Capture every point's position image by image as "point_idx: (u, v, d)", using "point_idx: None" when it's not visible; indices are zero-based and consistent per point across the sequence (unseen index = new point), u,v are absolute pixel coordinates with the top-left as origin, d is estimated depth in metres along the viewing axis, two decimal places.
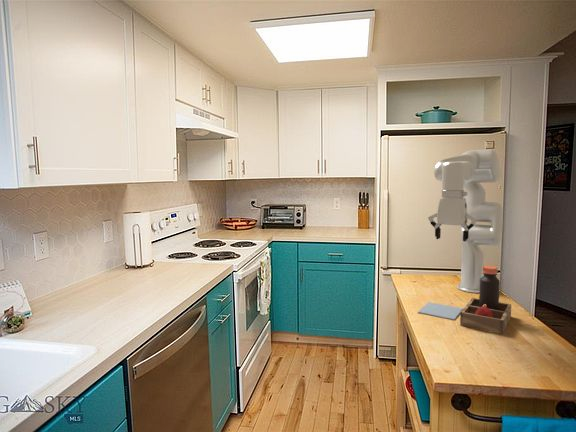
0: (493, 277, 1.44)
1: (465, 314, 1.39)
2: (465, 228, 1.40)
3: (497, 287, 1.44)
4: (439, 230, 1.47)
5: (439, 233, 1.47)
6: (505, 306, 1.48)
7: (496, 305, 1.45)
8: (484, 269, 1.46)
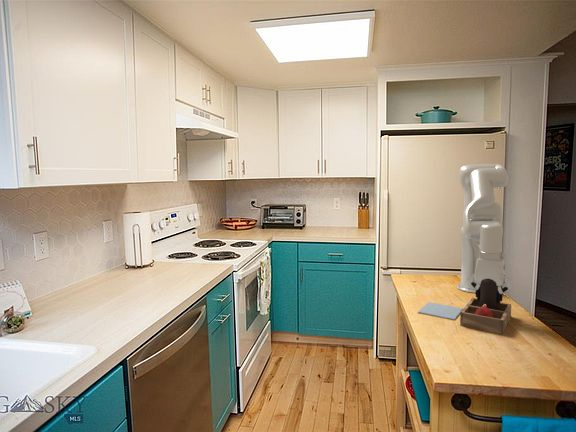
0: None
1: (465, 314, 1.39)
2: (500, 291, 1.44)
3: (497, 287, 1.44)
4: None
5: None
6: (505, 306, 1.48)
7: (496, 305, 1.44)
8: None
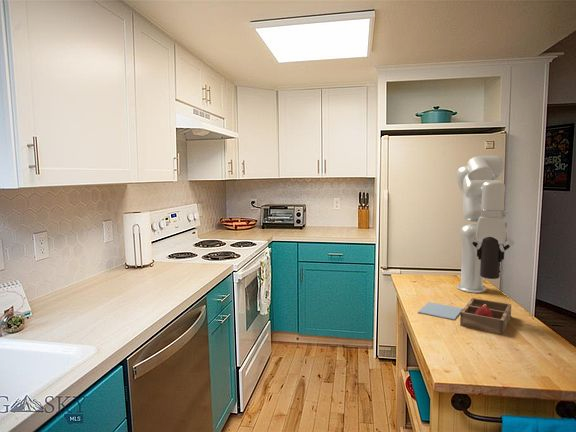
0: None
1: (465, 314, 1.39)
2: (501, 249, 1.42)
3: (499, 245, 1.42)
4: None
5: None
6: (505, 306, 1.48)
7: (498, 264, 1.43)
8: None
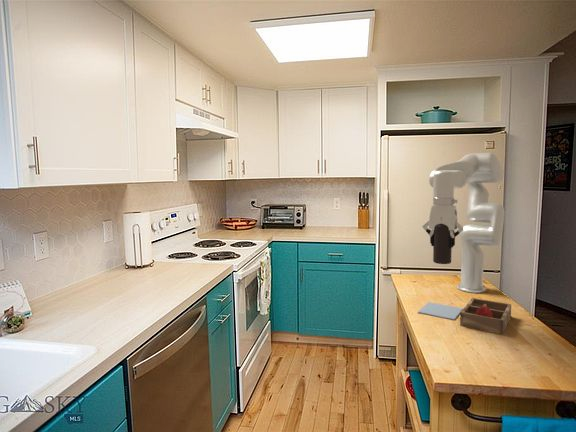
0: None
1: (465, 314, 1.39)
2: (452, 235, 1.49)
3: (449, 232, 1.49)
4: None
5: None
6: (505, 306, 1.48)
7: (448, 249, 1.50)
8: None
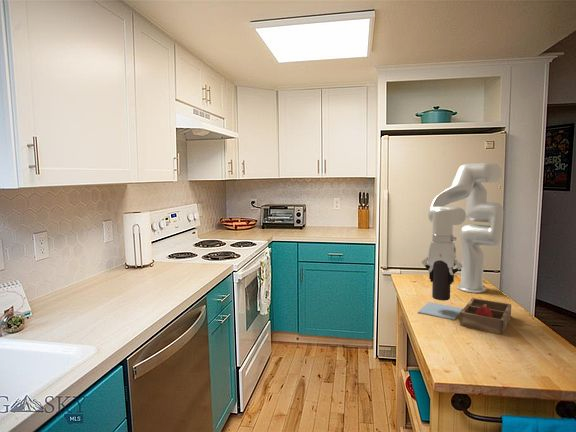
0: None
1: (465, 314, 1.39)
2: (451, 272, 1.50)
3: (448, 269, 1.51)
4: None
5: None
6: (505, 306, 1.48)
7: (447, 286, 1.51)
8: None
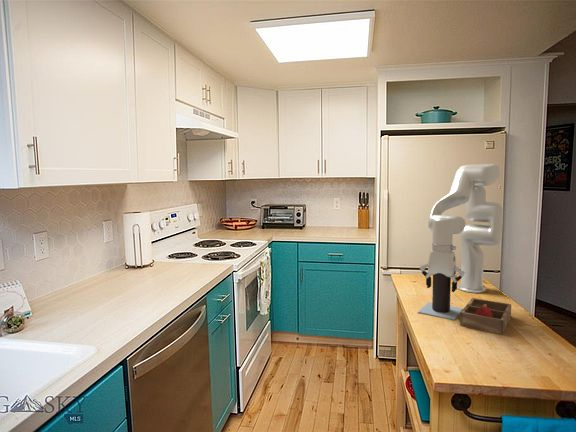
0: None
1: (465, 314, 1.39)
2: (454, 280, 1.50)
3: (448, 281, 1.51)
4: (430, 279, 1.57)
5: (430, 282, 1.57)
6: (505, 306, 1.48)
7: (447, 298, 1.52)
8: None
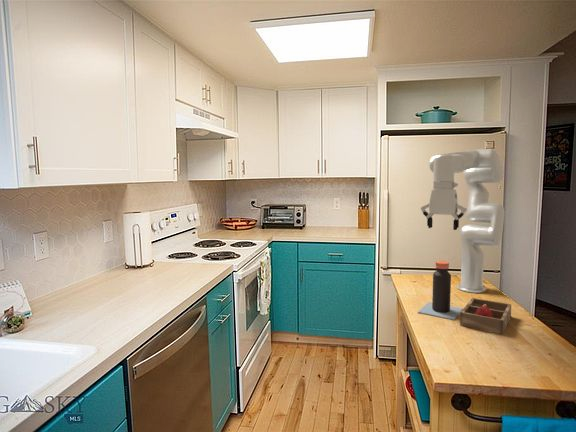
0: (444, 271, 1.52)
1: (465, 314, 1.39)
2: (455, 217, 1.48)
3: (448, 281, 1.51)
4: (431, 220, 1.55)
5: (431, 223, 1.55)
6: (505, 306, 1.48)
7: (447, 298, 1.52)
8: (436, 264, 1.53)
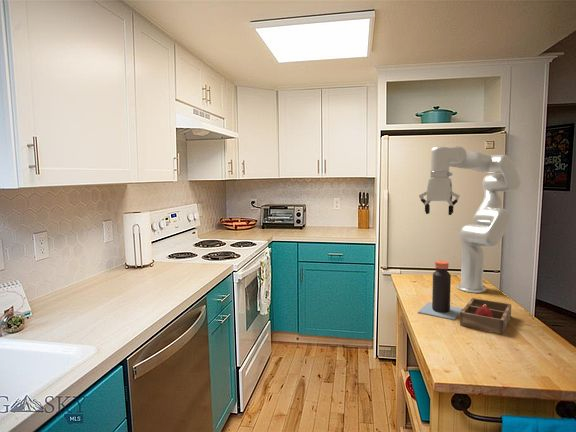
0: (444, 271, 1.52)
1: (465, 314, 1.39)
2: (450, 203, 1.63)
3: (448, 281, 1.51)
4: (428, 206, 1.70)
5: (428, 209, 1.70)
6: (505, 306, 1.48)
7: (447, 298, 1.52)
8: (436, 264, 1.53)
